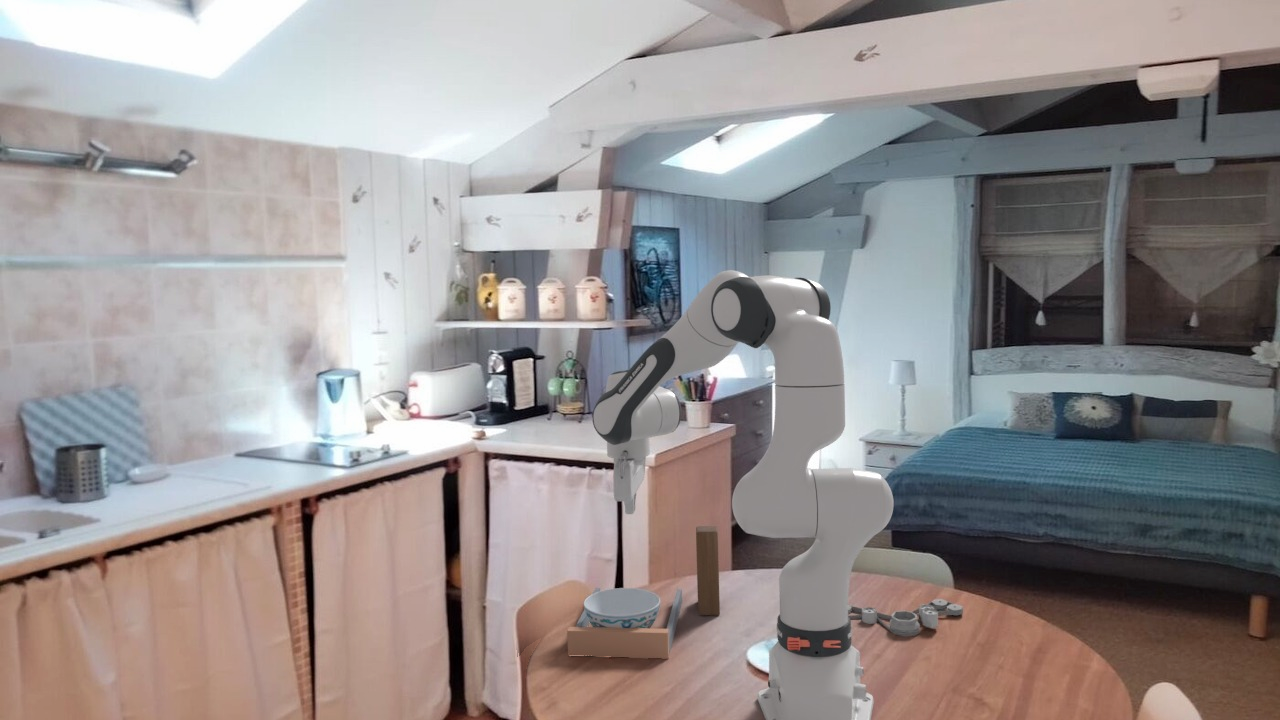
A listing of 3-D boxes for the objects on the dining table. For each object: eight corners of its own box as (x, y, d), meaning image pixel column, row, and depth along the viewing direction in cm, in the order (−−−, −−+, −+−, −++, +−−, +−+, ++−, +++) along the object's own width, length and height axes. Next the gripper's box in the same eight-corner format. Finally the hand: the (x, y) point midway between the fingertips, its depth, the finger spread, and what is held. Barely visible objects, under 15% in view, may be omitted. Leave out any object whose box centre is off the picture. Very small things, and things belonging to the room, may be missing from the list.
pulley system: (980, 640, 175) (956, 607, 190) (980, 617, 175) (956, 586, 190) (837, 647, 177) (824, 614, 192) (836, 624, 176) (824, 592, 191)
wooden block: (698, 600, 199) (696, 520, 197) (719, 600, 198) (717, 519, 197) (698, 616, 190) (695, 531, 188) (719, 616, 189) (717, 531, 188)
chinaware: (573, 633, 183) (572, 596, 182) (640, 619, 189) (639, 583, 188) (603, 661, 169) (602, 621, 168) (674, 644, 176) (673, 605, 175)
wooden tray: (668, 659, 169) (667, 633, 169) (568, 656, 172) (567, 630, 171) (682, 602, 198) (681, 580, 197) (596, 601, 200) (595, 579, 200)
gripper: (636, 456, 178) (638, 525, 179) (649, 438, 198) (651, 501, 199) (604, 456, 179) (607, 525, 180) (620, 438, 199) (622, 501, 200)
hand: (630, 512), depth 190 cm, fingers closed
